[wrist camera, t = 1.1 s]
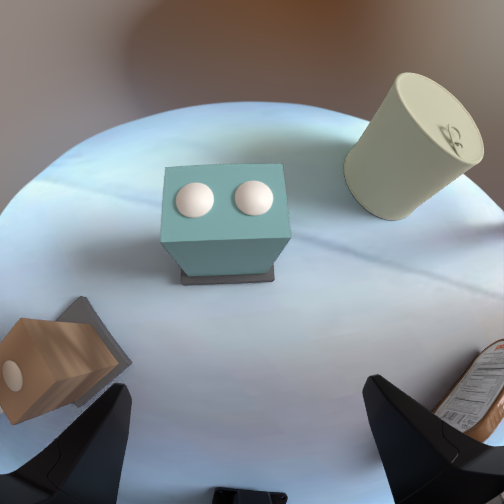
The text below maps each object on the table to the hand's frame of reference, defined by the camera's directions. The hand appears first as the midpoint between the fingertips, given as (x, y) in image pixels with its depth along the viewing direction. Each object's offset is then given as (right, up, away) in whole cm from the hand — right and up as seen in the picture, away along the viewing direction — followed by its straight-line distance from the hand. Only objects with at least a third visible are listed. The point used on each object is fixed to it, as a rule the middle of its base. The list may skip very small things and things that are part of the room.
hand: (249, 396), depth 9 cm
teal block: (-2, +5, +13) cm, 14 cm away
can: (+14, +13, +17) cm, 25 cm away
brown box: (-14, -4, +9) cm, 17 cm away
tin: (+23, -10, +12) cm, 28 cm away
